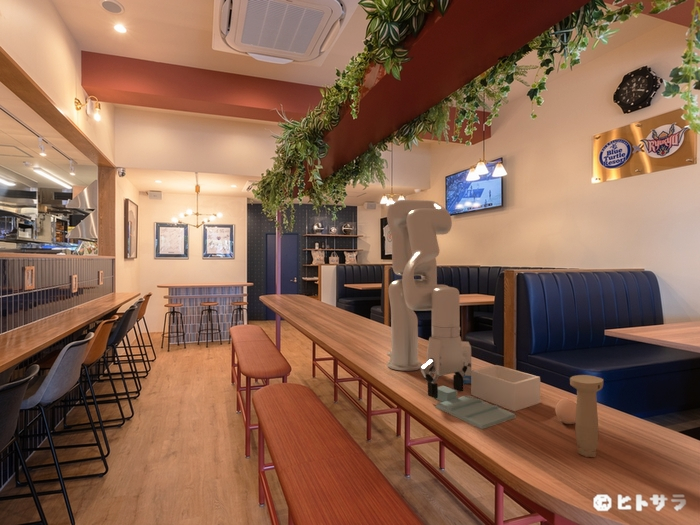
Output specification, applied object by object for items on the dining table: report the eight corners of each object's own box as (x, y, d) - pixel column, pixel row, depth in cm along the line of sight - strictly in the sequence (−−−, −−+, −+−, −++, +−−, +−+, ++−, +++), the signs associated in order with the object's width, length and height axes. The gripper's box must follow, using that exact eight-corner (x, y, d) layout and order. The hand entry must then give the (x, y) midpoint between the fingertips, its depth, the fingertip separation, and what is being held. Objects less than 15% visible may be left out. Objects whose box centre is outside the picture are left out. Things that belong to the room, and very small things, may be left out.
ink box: (472, 384, 119) (472, 346, 119) (455, 383, 120) (455, 346, 120) (469, 376, 127) (469, 340, 127) (453, 375, 128) (453, 340, 128)
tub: (471, 394, 110) (471, 370, 109) (496, 388, 115) (496, 364, 115) (514, 411, 98) (514, 384, 97) (540, 402, 103) (540, 377, 103)
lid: (423, 401, 105) (422, 390, 105) (454, 393, 111) (454, 383, 111) (482, 429, 88) (482, 416, 88) (515, 418, 94) (515, 406, 94)
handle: (564, 452, 77) (564, 378, 77) (585, 445, 80) (584, 373, 80) (588, 463, 73) (588, 385, 72) (609, 456, 75) (609, 380, 75)
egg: (550, 421, 92) (550, 396, 92) (565, 417, 94) (565, 393, 94) (570, 429, 87) (570, 403, 87) (585, 425, 89) (585, 400, 89)
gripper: (457, 326, 113) (457, 384, 113) (412, 333, 104) (412, 395, 104) (477, 330, 107) (478, 391, 107) (431, 337, 98) (431, 404, 98)
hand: (445, 393), depth 106 cm, fingers open, 9 cm apart
